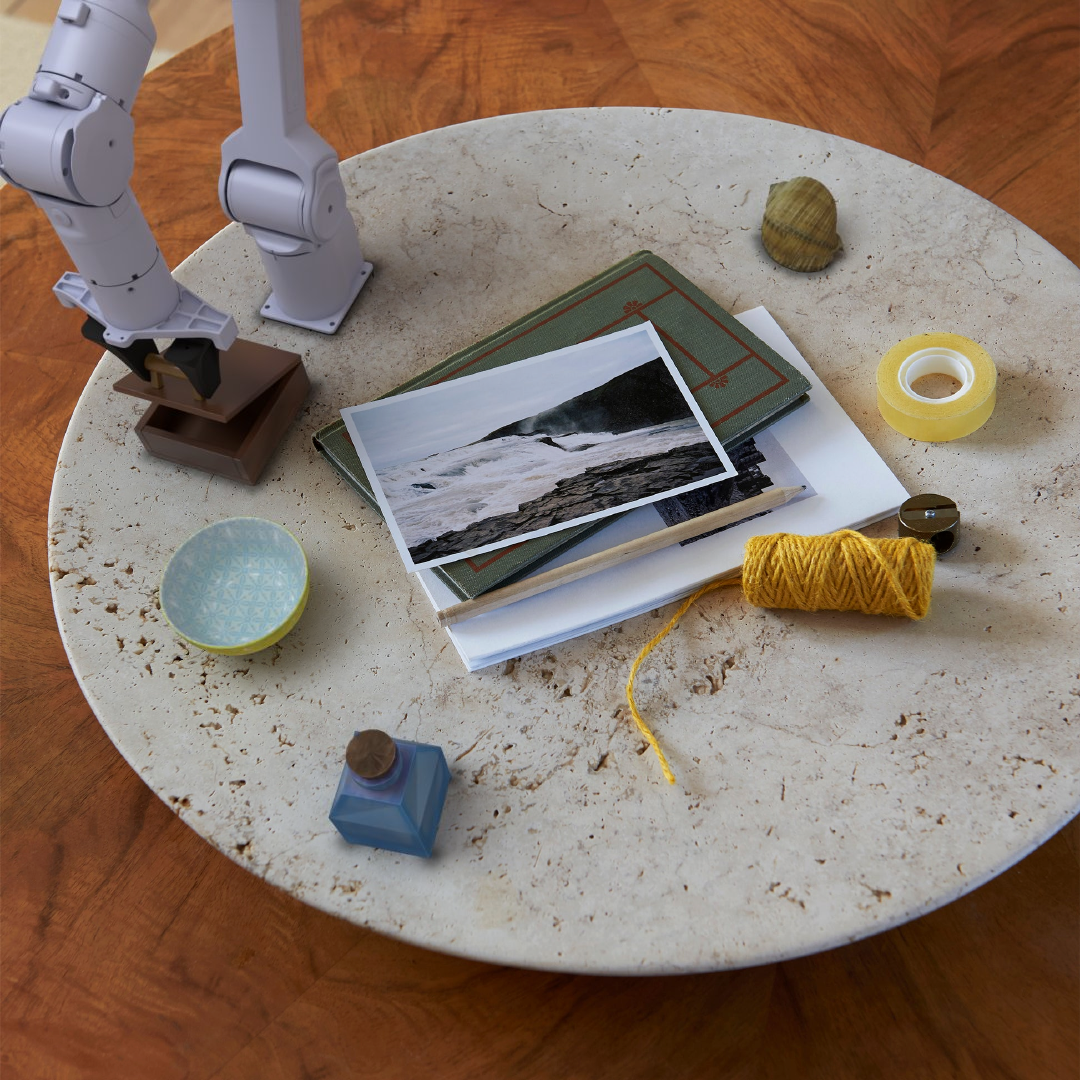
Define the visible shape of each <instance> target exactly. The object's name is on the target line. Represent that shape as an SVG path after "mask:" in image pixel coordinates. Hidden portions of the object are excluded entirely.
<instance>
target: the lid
mask: <svg viewBox="0 0 1080 1080" xmlns="http://www.w3.org/2000/svg"><path fill="white" fill-rule="evenodd" d="M169 347H170V345H169V346H167V347H165V349H163V350H161V351H160V352H159V353H160V355H158V354H154V353H149V354H148V355H147V356H146V358H145V361H144V365H145V368H146V369H148V370H150V376H151V382H147V381H143V380H142V379H141V378H140V377H138V376H137V375H136V374H135V373H134V372H133V371H132V370H131V372H129V373H128V374H126V375H125V376H123V377H121V378H119V380H117V381H115V382H114V383H112V390H113V392H116V393H120V394H123V395H127V396H131V397H134V398H137V399H141V400H144V401H147V402H150V403H152V402H155V403H158V404H161V405H165V406H168V407H172V408H175V409H179V410H182V411H186V412H189V413H193V414H196V415H199V416H203V417H206V418H210V419H213V420H217V421H220V422H224V423H226V422H228V421H229V420H230V419H231V418H233V417H234V416H235V415H236V414H237V413H239V412H240V411H241V410H242V409H243V408H245V407H246V406H247V405H248V404H250V403H251V402H252V401H253V400H254V399H256V398H257V397H258V396H259V395H260V394H262V393H263V392H264V391H265V390H267V389H268V388H269V387H270V386H271V385H273V384H274V383H275V382H276V381H277V380H279V379H280V378H281V377H282V376H284V375H285V374H286V373H287V372H288V371H290V370H291V369H292V368H293V367H294V366H296V365H297V364H298V363H299V362H301V361H303V359H302V358H303V357H302V354H300V353H295V352H292V351H289V350H285V349H281V348H278V347H274V346H270V345H267V344H263V343H259V342H255V341H252V340H248V339H243V338H241V337H238V336H237V337H236V339H235V340H234V342H233V343H232V345H231V346H230V347H229V349H228V350H227V351H225V350H221V349H220V351H219V366H220V376H221V384H220V385H219V387H218V388H217V390H216V391H215V393H214V394H213V396H212V397H211V399H206V398H203V397H201V396H200V395H199V394H198V393H197V392H196V390H195V389H194V387H193V386H192V384H191V382H190V381H189V379H188V378H187V376H186V375H185V374H184V373H183V372H182V371H181V370H180V369H179V368H178V367H177V366H175V365H174V364H172V363H171V362H169V361H167V360H165V359H164V357H163V355H164V354H165V352H166V351H167V350H168V348H169Z"/></svg>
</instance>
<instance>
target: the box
mask: <svg viewBox="0 0 1080 1080" xmlns="http://www.w3.org/2000/svg"><path fill="white" fill-rule="evenodd" d="M312 388H313V386H312V384H311V381H310V378H309V375H308V373H307V370H306V366H305V364H304V361H303V360H302V361H301V362H299V363H298V364H297V365H296V366H294V367H293V368H292V369H291V370H290V371H288V372H287V373H286V374H285V375H284V376H282V377H281V378H280V379H279V380H277V381H276V382H275V383H274V384H273V385H271V386H270V387H269V388H268V389H267V390H265V391H264V392H263V393H262V394H260V395H259V396H258V397H257V398H256V399H254V400H253V401H252V402H251V403H250V404H248V405H247V406H246V407H245V408H243V409H242V410H241V411H240V412H239V413H237V414H236V415H235V416H234V417H233V418H231V419H230V420H229V421H228V422H226V423H224V422H220V421H217V420H213V419H210V418H206V417H203V416H199V415H196V414H193V413H189V412H186V411H182V410H179V409H175V408H172V407H168V406H165V405H161V404H158V403H155V402H150V404H149V406H148V407H147V408H146V410H145V411H144V413H143V414H142V415H141V417H140V418H139V420H138V422H137V423H136V425H135V426H134V428H133V431H134V433H135V434H136V437H137V438H138V439H139V441H140V442H141V444H142V446H143V447H144V449H145V451H146V453H147V454H148V455H149V456H152V457H155V458H159V459H163V460H165V461H168V462H172V463H175V464H179V465H182V466H185V467H188V468H192V469H196V470H198V471H202V472H205V473H209V474H212V475H215V476H219V477H222V478H225V479H229V480H231V481H234V482H239V483H242V484H245V485H248V486H251V487H253V486H254V485H255V484H256V482H257V480H258V479H259V478H260V475H261V474H262V473H263V471H264V468H265V467H266V465H267V464H268V462H269V460H270V458H271V457H272V455H273V453H274V452H275V450H276V448H277V447H278V445H279V443H280V442H281V440H282V438H283V437H284V435H285V433H286V432H287V430H288V429H289V427H290V425H291V423H292V421H293V420H294V418H295V417H296V415H297V413H298V411H299V410H300V408H301V407H302V405H303V403H304V401H305V400H306V399H307V396H308V395H309V393H310V392H311V389H312Z"/></svg>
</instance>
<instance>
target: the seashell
mask: <svg viewBox="0 0 1080 1080" xmlns="http://www.w3.org/2000/svg"><path fill="white" fill-rule="evenodd" d="M767 196H768V197H767V198H766V202H765V211H764V213H763V216H762V223H761V227H760V230H761V235H760V238H761V240H762V246H763V247H764V250H765V252H767V254H768V257H769V258H771V259H772V260H773V261H775V262H776V263H777V264H778V265H781V267H785V268H787V269H790V270H793V271H796V272H801V273H802V272H806V273H809V272H810V273H811V272H819V271H820V270H821V271H823V270H824V269H825V267H827V265H828V264H829V263H830V262H831V261H833V259H834V258H835V256H836V253H837V252H838V251H840V252H845V250H844V249H845V248H844V244H843V239H842V237H841V235H839V234H838V233H837V222H838V218H837V217H838V212H837V210H838V209H837V204H836V200H835V198H834V196H833V194H832V193H831V191H830V189H829V188H828V187H826V185H825V184H824V183H822V182H821V181H819V180H818V179H815V178H813V177H812V176H811V177H809V176H797V177H793V178H791V179H790V180H788V181H787V180H783V181H780V182H776V183H772V184H770V185H769V190H768V195H767Z"/></svg>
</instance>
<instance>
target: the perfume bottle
mask: <svg viewBox="0 0 1080 1080" xmlns="http://www.w3.org/2000/svg"><path fill="white" fill-rule="evenodd" d="M344 757H345V762H344V766H343V769H342V771H341V775H340V778H339V781H338V784H337V788H336V791H335V795H334V799H333V801H332V804H331V808H330V811H329V815H328V817H327V818H328V819H329V821H330V822H331V823H332V825H333V826H334V827H335V828H336V830H337V831H338V833H339V834H340V836H342V838H343V839H344V840H345V842H346V843H350V844H353V845H354V844H355V845H360V846H364V847H370V848H375V849H380V850H384V851H389V852H394V853H400V854H404V855H409V856H414V857H419V858H423V859H429V860H430V859H431V856H432V853H433V848H434V844H435V840H436V836H437V833H438V828H439V825H440V821H441V817H442V812H443V809H444V805H445V800H446V797H447V793H448V789H449V785H450V781H451V777H452V774H451V772H450V769H449V765H448V763H447V759H446V757H445V754H444V751H443V748H442V746H439V745H434V744H428V743H424V742H419V741H413V740H407V739H403V738H402V739H401V738H397V737H391V736H390V735H389V734H388V733H386V732H385V731H383V730H381V729H375V728H369V729H365V730H361V731H359V730H354V732H353V736H352V738H351V739H350V740H349V742H348V744H347V746H346V749H345V755H344Z"/></svg>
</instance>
